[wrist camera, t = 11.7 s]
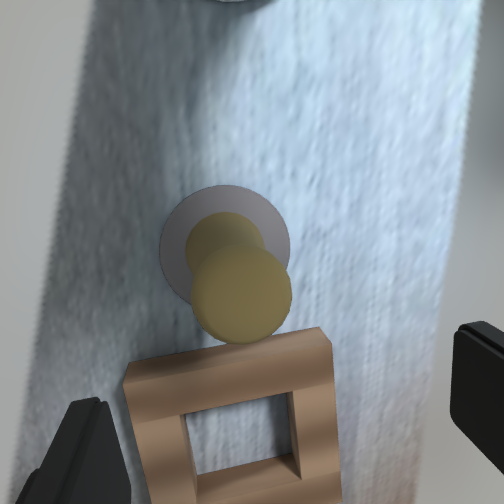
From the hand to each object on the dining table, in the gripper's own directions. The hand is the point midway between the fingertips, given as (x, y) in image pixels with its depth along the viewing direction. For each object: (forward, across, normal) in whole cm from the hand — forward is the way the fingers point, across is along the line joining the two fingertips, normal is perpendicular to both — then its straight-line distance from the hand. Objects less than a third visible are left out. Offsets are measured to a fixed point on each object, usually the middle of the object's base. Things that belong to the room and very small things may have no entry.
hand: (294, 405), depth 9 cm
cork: (+19, 0, +1) cm, 19 cm away
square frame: (+19, +1, +17) cm, 26 cm away
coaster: (+19, 0, +1) cm, 19 cm away
